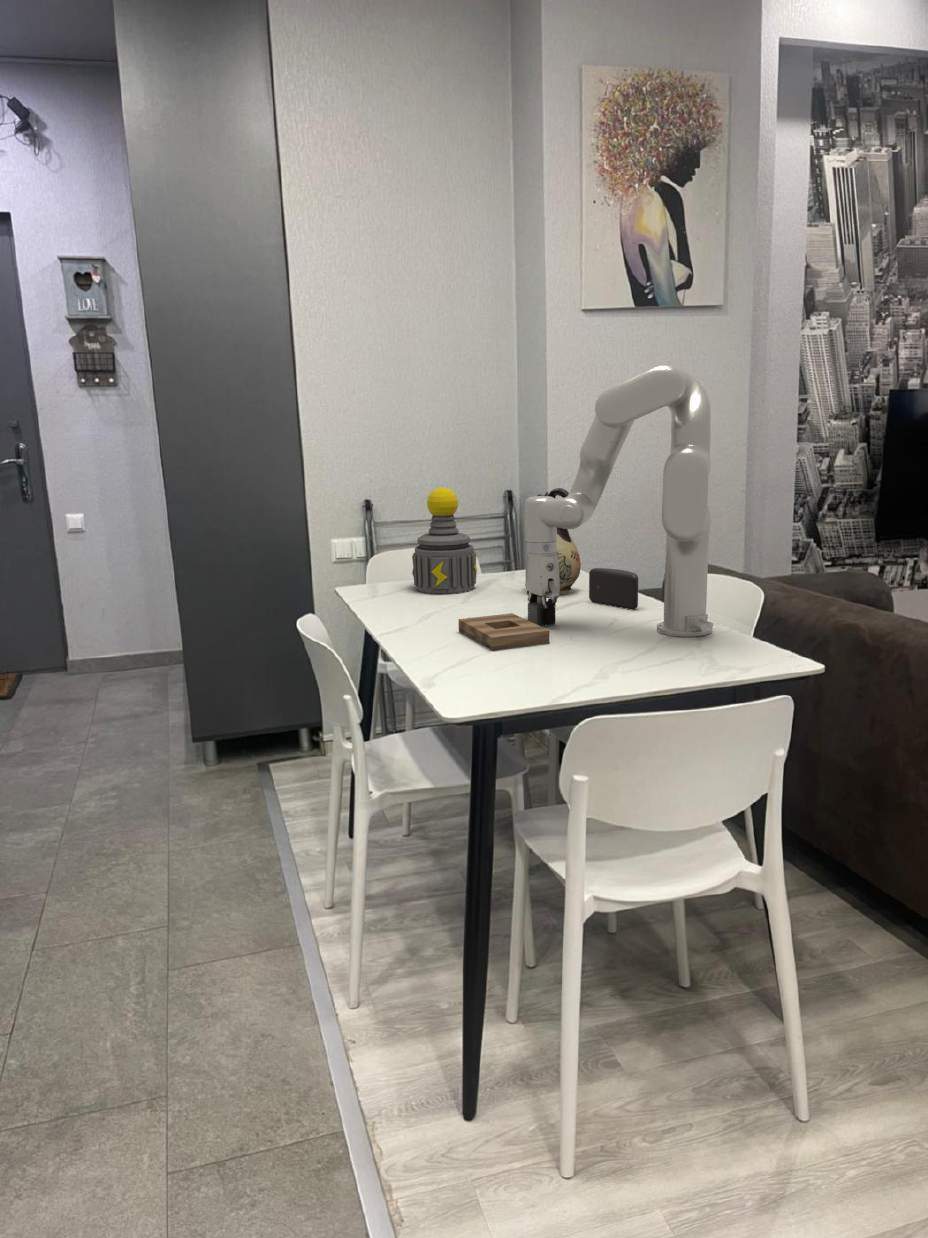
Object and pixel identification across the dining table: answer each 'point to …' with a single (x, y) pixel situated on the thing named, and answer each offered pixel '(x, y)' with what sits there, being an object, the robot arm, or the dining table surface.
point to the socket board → (504, 631)
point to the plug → (536, 612)
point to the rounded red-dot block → (613, 587)
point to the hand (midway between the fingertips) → (541, 620)
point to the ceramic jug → (565, 552)
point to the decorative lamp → (444, 550)
